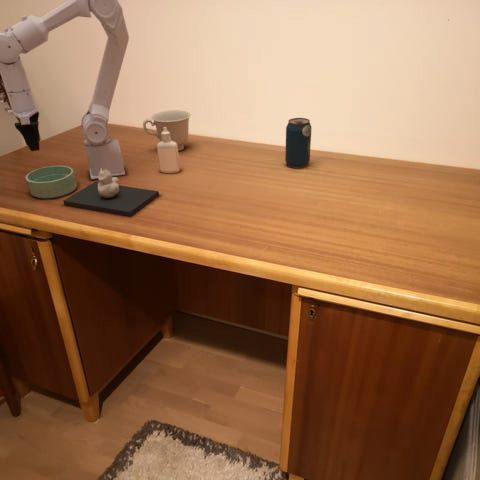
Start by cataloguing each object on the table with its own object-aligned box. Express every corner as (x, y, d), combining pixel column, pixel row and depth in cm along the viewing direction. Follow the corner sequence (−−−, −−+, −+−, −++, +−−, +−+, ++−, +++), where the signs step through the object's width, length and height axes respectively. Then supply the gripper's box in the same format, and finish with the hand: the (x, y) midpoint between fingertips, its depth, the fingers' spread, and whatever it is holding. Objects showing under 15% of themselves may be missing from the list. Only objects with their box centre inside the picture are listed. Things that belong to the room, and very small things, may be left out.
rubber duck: (93, 198, 116) (86, 167, 111) (111, 189, 120) (104, 158, 115) (110, 202, 114) (103, 170, 109) (127, 192, 118) (121, 161, 113)
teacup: (144, 146, 151) (139, 114, 144) (189, 140, 154) (186, 108, 147) (150, 158, 141) (144, 124, 135) (197, 151, 145) (194, 118, 138)
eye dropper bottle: (172, 175, 130) (166, 131, 122) (158, 171, 132) (151, 127, 125) (182, 170, 132) (177, 126, 125) (168, 166, 135) (162, 123, 128)
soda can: (313, 166, 131) (316, 122, 124) (291, 170, 129) (293, 125, 122) (302, 158, 136) (304, 115, 129) (281, 162, 134) (281, 119, 127)
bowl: (76, 178, 130) (72, 163, 127) (78, 194, 121) (74, 178, 118) (31, 185, 127) (26, 169, 125) (30, 202, 118) (24, 185, 116)
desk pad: (159, 195, 119) (158, 191, 118) (130, 216, 110) (129, 212, 109) (96, 185, 126) (95, 181, 125) (64, 205, 116) (62, 200, 116)
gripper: (3, 86, 119) (20, 140, 127) (-1, 98, 108) (18, 156, 117) (32, 83, 121) (47, 136, 129) (30, 95, 110) (47, 152, 118)
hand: (35, 146), depth 123 cm, fingers open, 7 cm apart
